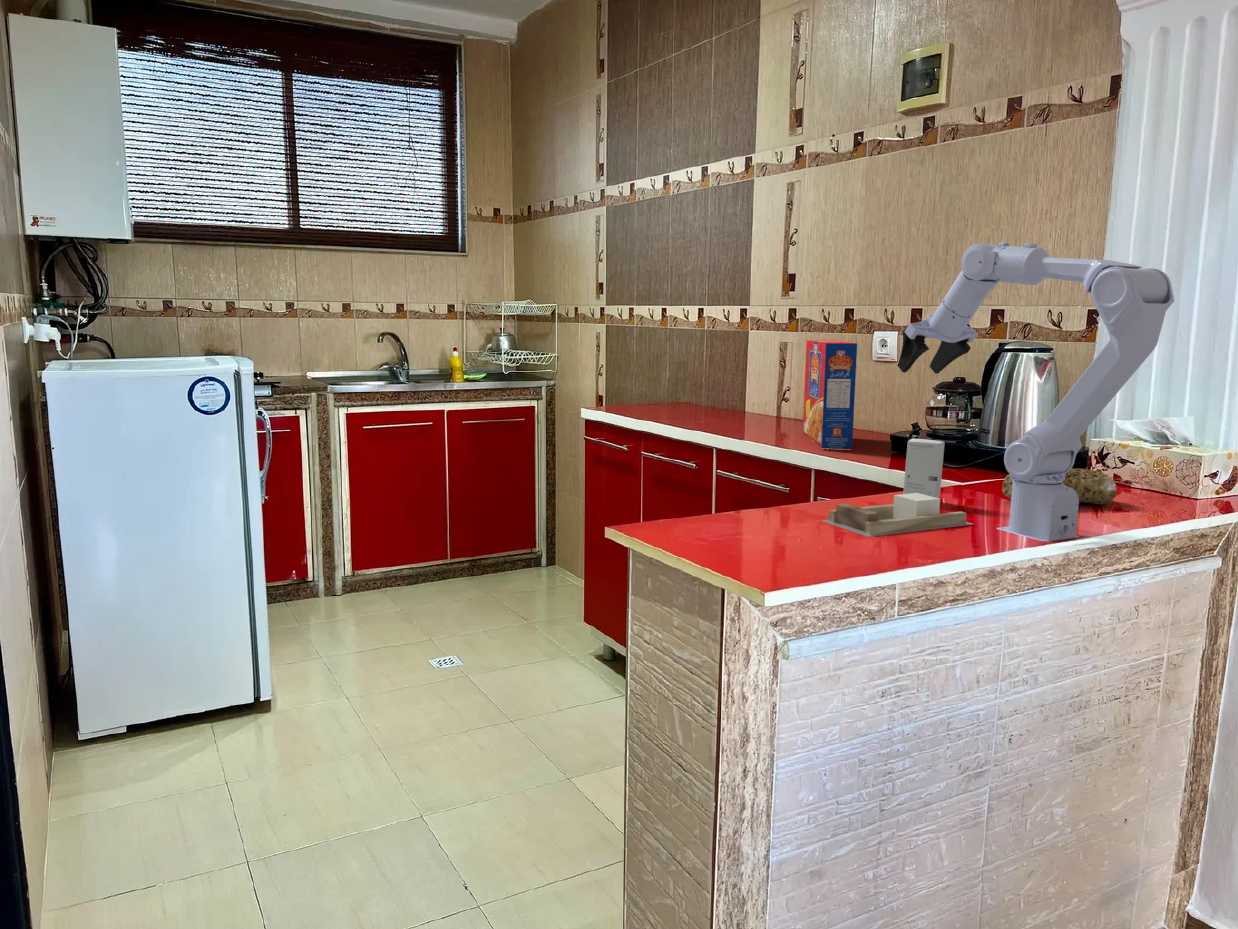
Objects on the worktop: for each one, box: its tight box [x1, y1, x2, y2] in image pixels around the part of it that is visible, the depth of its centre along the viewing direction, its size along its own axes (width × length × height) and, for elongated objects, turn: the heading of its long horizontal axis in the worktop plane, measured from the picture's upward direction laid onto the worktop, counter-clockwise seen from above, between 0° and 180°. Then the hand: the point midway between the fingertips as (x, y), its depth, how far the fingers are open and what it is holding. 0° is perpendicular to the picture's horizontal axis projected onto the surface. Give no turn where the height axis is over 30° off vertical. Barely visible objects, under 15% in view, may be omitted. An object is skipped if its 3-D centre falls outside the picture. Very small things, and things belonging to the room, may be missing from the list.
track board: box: [820, 516, 973, 538], centre depth 148 cm, size 12×22×1 cm, turn 114°
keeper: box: [893, 493, 941, 519], centre depth 149 cm, size 5×5×4 cm
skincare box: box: [902, 438, 946, 500], centre depth 164 cm, size 6×4×12 cm
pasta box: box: [802, 339, 858, 450], centre depth 244 cm, size 28×8×28 cm, turn 178°
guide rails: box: [828, 503, 967, 535], centre depth 148 cm, size 10×20×3 cm, turn 114°
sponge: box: [1001, 468, 1118, 505], centre depth 167 cm, size 13×8×20 cm
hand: (917, 369), depth 161 cm, fingers open, 7 cm apart
